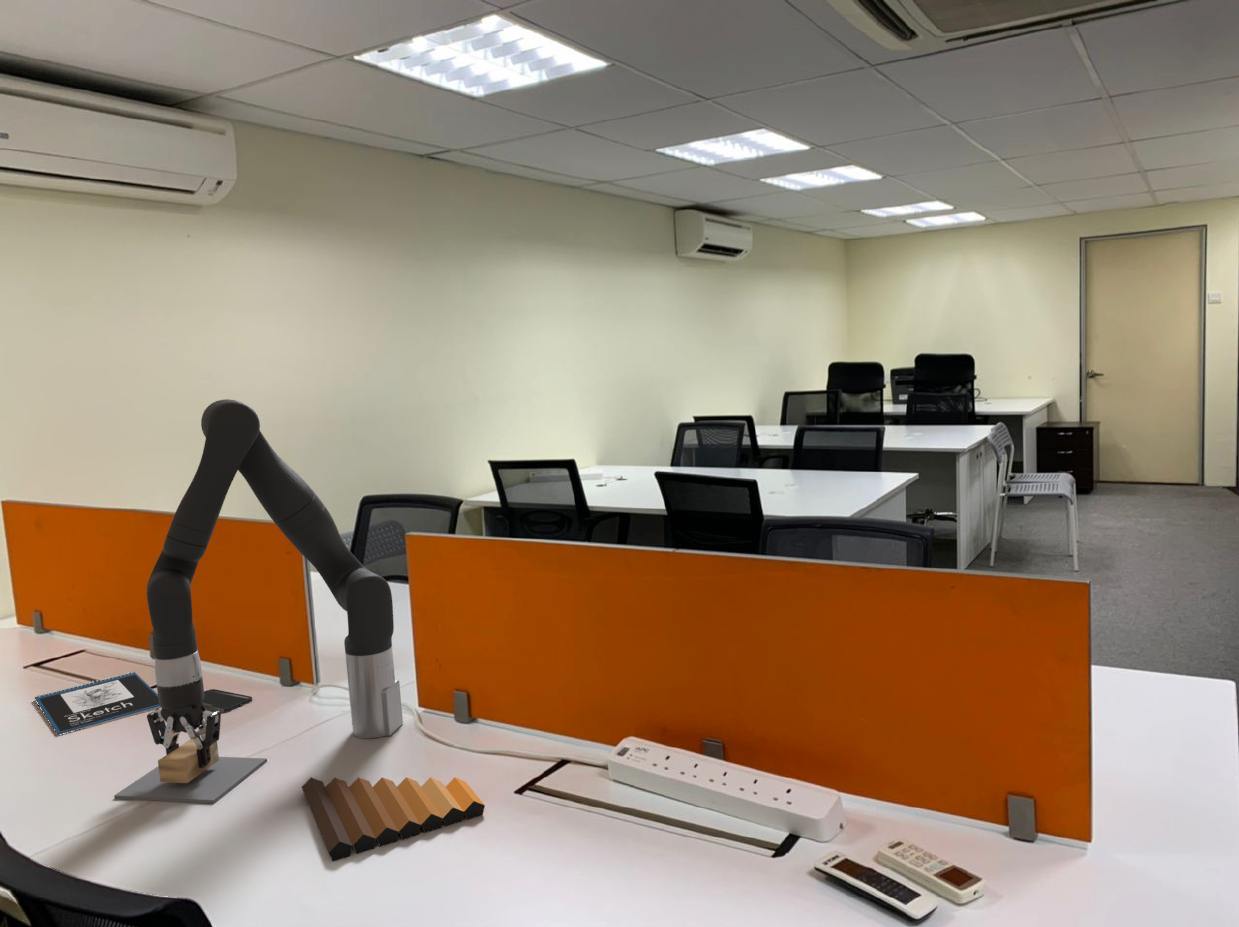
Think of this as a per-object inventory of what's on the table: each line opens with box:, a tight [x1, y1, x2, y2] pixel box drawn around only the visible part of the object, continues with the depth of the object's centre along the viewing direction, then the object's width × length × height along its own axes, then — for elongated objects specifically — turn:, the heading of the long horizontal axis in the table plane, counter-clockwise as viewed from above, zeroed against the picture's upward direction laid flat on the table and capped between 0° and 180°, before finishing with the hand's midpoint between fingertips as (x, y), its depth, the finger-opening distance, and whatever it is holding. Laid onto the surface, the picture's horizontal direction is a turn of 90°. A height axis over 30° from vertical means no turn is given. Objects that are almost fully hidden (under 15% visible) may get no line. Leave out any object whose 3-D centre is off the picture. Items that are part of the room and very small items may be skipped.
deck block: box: [157, 738, 220, 783], centre depth 163 cm, size 9×6×4 cm, turn 169°
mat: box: [113, 756, 268, 804], centre depth 164 cm, size 20×16×1 cm
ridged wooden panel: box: [301, 776, 486, 862], centre depth 150 cm, size 25×3×25 cm
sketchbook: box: [34, 670, 162, 736], centre depth 206 cm, size 22×30×2 cm
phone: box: [203, 688, 254, 714], centre depth 202 cm, size 8×1×15 cm
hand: (189, 765), depth 163 cm, fingers closed on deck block, 5 cm apart
